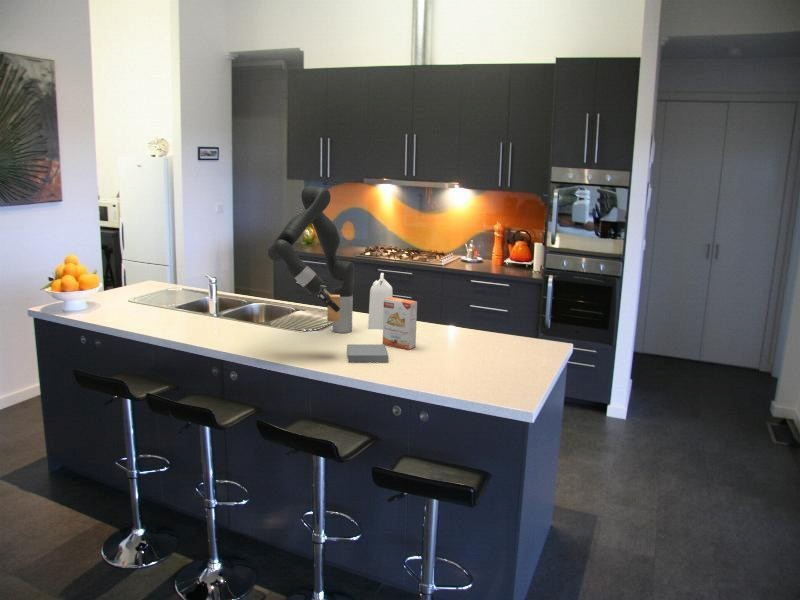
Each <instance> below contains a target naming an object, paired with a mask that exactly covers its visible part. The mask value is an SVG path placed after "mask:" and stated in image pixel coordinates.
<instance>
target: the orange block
mask: <svg viewBox="0 0 800 600" xmlns="http://www.w3.org/2000/svg"><path fill="white" fill-rule="evenodd" d="M330 296H331V299H332V300H333V301H334V303H335V304H336V305H337V306H338V307H339V308H340V295H333V294H331V295H330ZM327 302H329V300H328V301H327ZM326 315H327V316H326V317H327V320H326V321H327V323H328V322H332V323H333V322H340V310H339V311H338V312H335V311H334V310H333V309H332V308H331V307H330V306H327V313H326Z"/></svg>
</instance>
